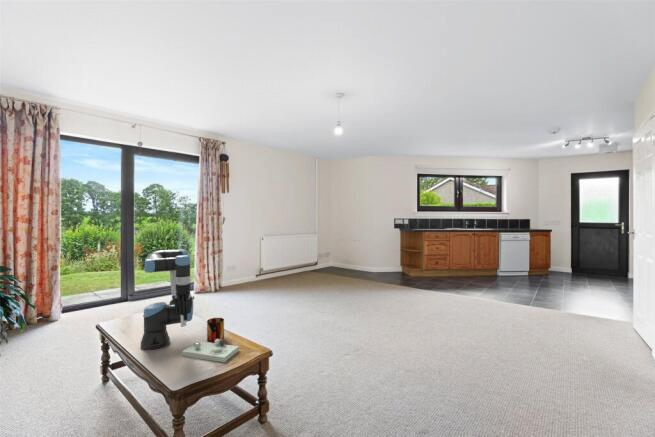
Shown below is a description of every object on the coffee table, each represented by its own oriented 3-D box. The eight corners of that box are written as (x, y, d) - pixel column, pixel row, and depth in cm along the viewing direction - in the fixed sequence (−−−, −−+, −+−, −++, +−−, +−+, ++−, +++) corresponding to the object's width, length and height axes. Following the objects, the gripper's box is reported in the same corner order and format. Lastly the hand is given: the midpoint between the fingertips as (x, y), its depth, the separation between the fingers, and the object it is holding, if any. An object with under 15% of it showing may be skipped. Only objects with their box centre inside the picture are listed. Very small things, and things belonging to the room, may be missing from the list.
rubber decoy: (218, 346, 182) (218, 340, 182) (221, 343, 185) (221, 338, 185) (223, 346, 181) (223, 341, 181) (226, 344, 184) (226, 339, 184)
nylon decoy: (215, 338, 182) (219, 341, 182) (218, 336, 186) (222, 339, 185) (212, 343, 183) (217, 346, 182) (215, 341, 186) (219, 344, 185)
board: (182, 355, 175) (181, 351, 175) (198, 345, 189) (198, 340, 189) (224, 362, 168) (224, 357, 168) (238, 350, 182) (238, 346, 182)
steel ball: (193, 349, 177) (193, 343, 177) (197, 347, 180) (196, 341, 180) (198, 350, 176) (198, 344, 176) (201, 347, 180) (201, 342, 179)
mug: (214, 346, 187) (214, 326, 186) (204, 339, 197) (204, 320, 196) (230, 342, 193) (229, 322, 193) (219, 335, 203) (219, 316, 203)
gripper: (168, 284, 178) (168, 327, 178) (188, 285, 174) (188, 329, 175) (178, 281, 185) (178, 322, 186) (197, 282, 181) (198, 324, 182)
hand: (183, 325), depth 180 cm, fingers closed
